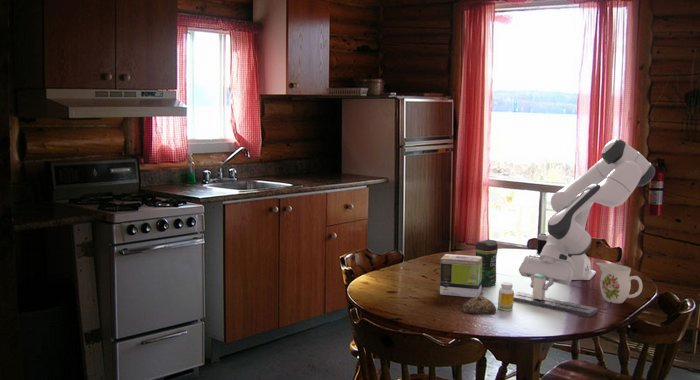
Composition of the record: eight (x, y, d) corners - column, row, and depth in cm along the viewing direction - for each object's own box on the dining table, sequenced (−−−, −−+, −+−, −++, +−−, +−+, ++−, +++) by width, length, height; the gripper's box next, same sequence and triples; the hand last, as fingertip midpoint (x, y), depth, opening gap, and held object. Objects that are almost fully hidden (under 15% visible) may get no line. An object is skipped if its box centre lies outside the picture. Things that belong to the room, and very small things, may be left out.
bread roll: (496, 316, 260) (496, 302, 259) (461, 313, 262) (461, 300, 261) (495, 306, 272) (496, 293, 272) (462, 304, 274) (462, 291, 274)
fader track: (517, 295, 286) (517, 291, 286) (597, 312, 265) (597, 308, 265) (507, 299, 280) (507, 295, 280) (588, 317, 259) (589, 312, 259)
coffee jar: (486, 288, 296) (488, 243, 293) (470, 284, 301) (472, 240, 299) (499, 284, 303) (501, 240, 300) (483, 280, 308) (484, 237, 306)
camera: (570, 255, 360) (571, 235, 358) (562, 258, 353) (563, 237, 351) (544, 250, 369) (545, 231, 367) (535, 253, 362) (536, 233, 360)
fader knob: (536, 296, 278) (537, 273, 277) (544, 298, 276) (546, 275, 275) (532, 298, 276) (533, 274, 274) (541, 299, 273) (542, 276, 272)
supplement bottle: (494, 307, 269) (496, 282, 268) (506, 306, 271) (508, 281, 270) (503, 311, 264) (505, 286, 263) (515, 310, 267) (517, 284, 265)
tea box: (481, 292, 290) (483, 255, 288) (477, 299, 280) (479, 261, 278) (444, 288, 295) (445, 252, 293) (439, 294, 285) (440, 257, 283)
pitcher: (636, 309, 270) (638, 273, 268) (588, 300, 281) (590, 265, 279) (645, 302, 279) (648, 267, 277) (598, 294, 290) (600, 260, 288)
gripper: (524, 249, 285) (511, 278, 279) (574, 258, 272) (561, 288, 266) (528, 258, 289) (516, 287, 283) (578, 267, 276) (566, 298, 270)
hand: (538, 288), depth 275 cm, fingers closed on fader knob, 3 cm apart
